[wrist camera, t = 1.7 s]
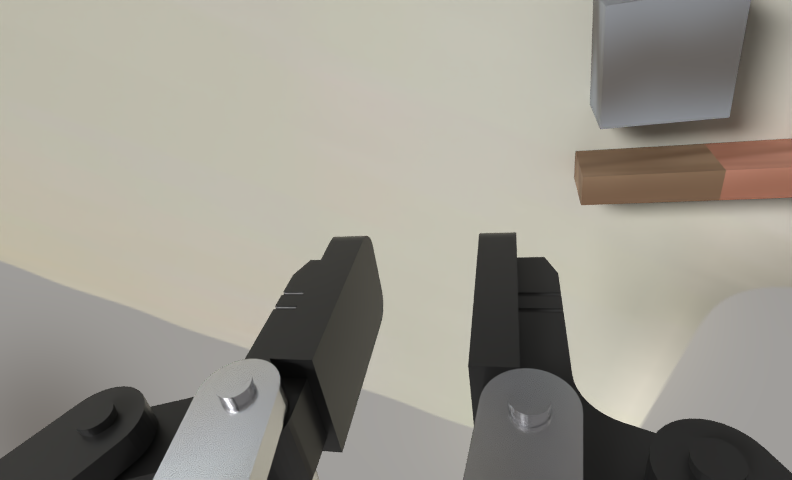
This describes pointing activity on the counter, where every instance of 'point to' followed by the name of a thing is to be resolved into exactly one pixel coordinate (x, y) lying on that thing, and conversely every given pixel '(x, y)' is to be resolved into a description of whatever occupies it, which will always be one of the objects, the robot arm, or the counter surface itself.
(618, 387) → the counter surface
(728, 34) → the block
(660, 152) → the track
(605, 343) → the counter surface
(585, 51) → the counter surface
